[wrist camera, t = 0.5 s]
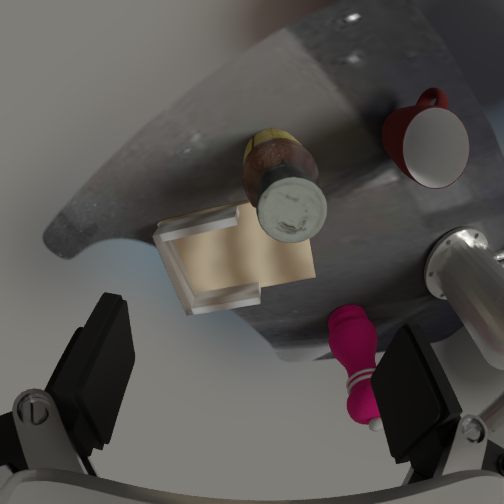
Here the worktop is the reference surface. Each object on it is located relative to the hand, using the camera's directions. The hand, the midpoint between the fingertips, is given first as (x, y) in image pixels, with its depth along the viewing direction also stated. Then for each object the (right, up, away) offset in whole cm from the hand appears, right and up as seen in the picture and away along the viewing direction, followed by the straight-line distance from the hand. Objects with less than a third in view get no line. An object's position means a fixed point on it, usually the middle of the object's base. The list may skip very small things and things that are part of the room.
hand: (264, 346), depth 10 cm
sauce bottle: (+2, +15, +25) cm, 29 cm away
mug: (+17, +19, +22) cm, 34 cm away
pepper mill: (+14, -7, +36) cm, 40 cm away
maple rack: (-2, +4, +31) cm, 31 cm away
